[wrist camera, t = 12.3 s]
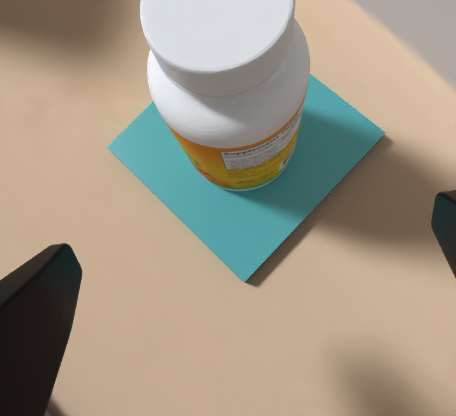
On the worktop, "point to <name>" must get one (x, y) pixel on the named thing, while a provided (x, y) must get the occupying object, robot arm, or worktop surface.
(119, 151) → the teal mat
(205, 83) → the supplement bottle
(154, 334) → the worktop surface
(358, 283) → the worktop surface
